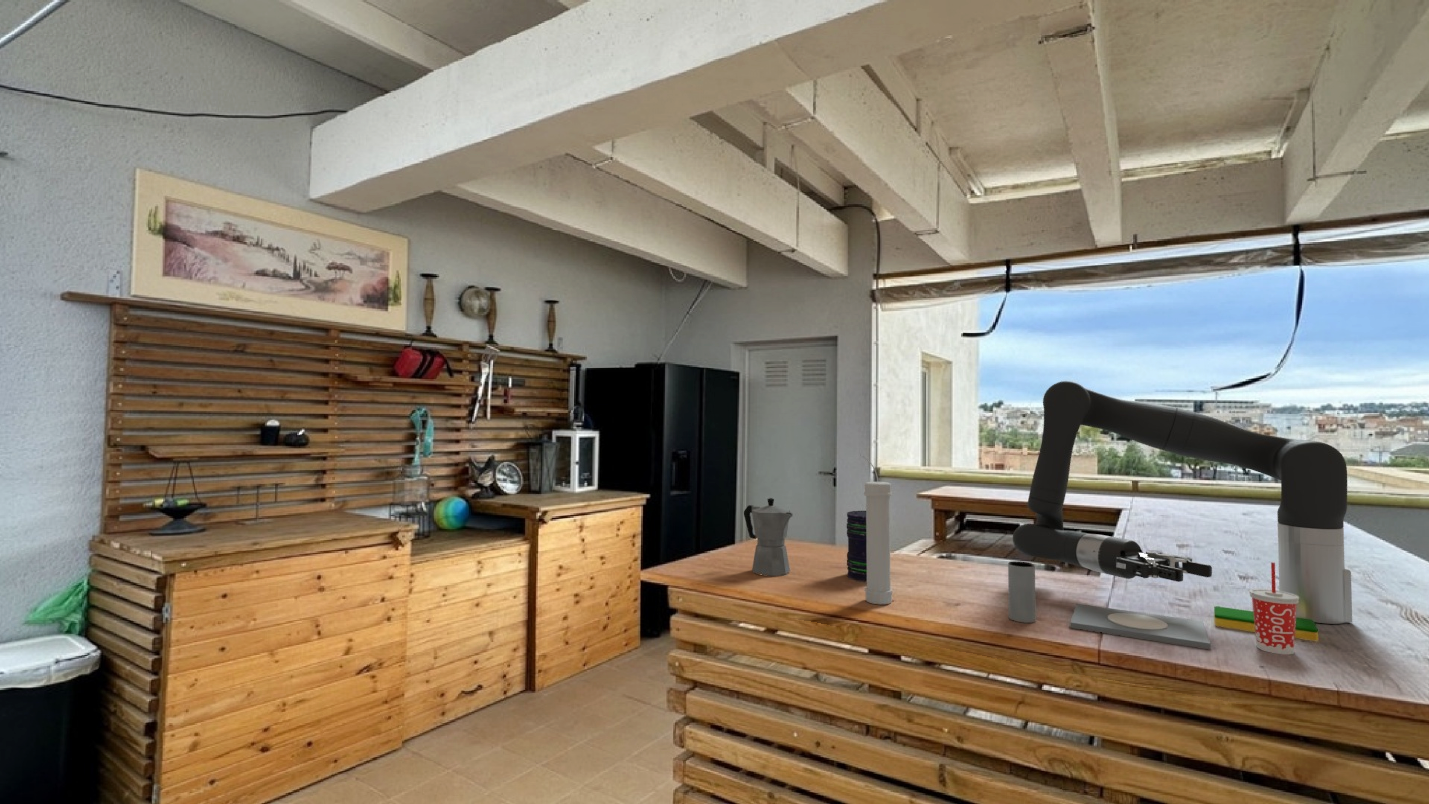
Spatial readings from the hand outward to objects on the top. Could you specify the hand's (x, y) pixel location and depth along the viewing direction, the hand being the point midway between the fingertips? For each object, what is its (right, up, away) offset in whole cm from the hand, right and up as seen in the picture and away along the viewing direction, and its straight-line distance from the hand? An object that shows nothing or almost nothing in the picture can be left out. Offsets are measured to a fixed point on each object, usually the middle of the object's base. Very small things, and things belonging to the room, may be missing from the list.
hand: (1196, 573), depth 116 cm
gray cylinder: (-29, -10, +5) cm, 31 cm away
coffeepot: (-73, -11, +44) cm, 86 cm away
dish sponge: (+12, -10, 0) cm, 16 cm away
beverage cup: (+5, -10, -10) cm, 15 cm away
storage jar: (-50, -11, +38) cm, 64 cm away
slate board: (-10, -10, +1) cm, 14 cm away
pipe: (-53, -10, +17) cm, 57 cm away
